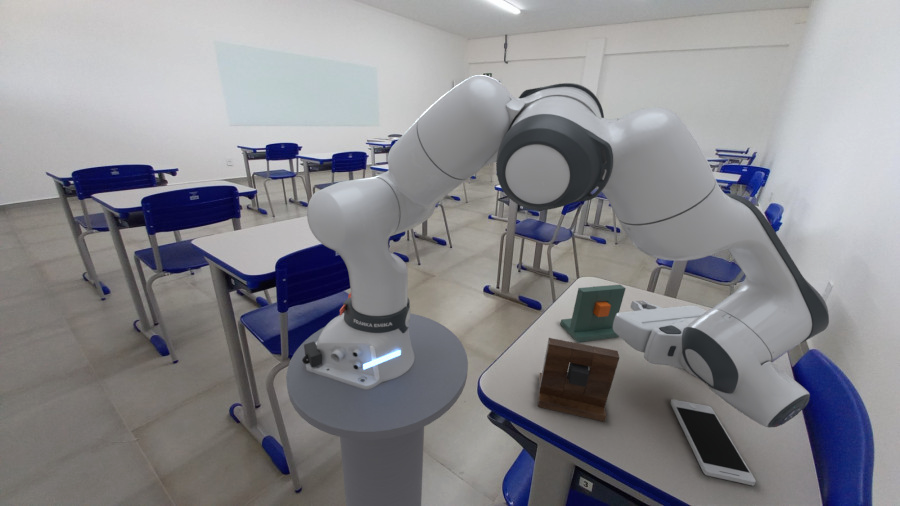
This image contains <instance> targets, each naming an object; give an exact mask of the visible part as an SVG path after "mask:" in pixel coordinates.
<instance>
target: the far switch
mask: <svg viewBox="0 0 900 506" xmlns="http://www.w3.org/2000/svg"><path fill="white" fill-rule="evenodd" d="M610 307H611V305H610V304H609V303H607V302H606V301H602V302H595V306H594V310H593V313H594V314H595V315H596V316H597V317H603V316H608V315H609V311H610Z"/></svg>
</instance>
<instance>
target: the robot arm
mask: <svg viewBox="0 0 900 506" xmlns="http://www.w3.org/2000/svg"><path fill="white" fill-rule="evenodd" d="M598 98H599V97H597V96H596V94H595V93H594V92H592V90H591V89H589V88H587V87H586V86H584V85H582V84H578V83H573V82H564V83H555V84H550V85H547V86H546V85H545V86H540V87H535V88H529V89H525V90H524V91H522V92H521V94H520V95H519V96H518V98H517V97H515V96H513V94H511V92H510V91H509V90H508V88H507V87H506V86H504V84H503V83H501V82H500V81H498V80H497V79H496V78H493V77H492V76H488V75H483V74H478V75H477V74H476V75H472V76H469V77H468V78H466V79H464V80H463V81H461V82H459V83H458V84H456V85H455V86H454V87H453V88H451V89H449V90H448V91H447V92H446V93H445V94H443V95H442V96H440V97H439V99H437V100H436V101H435V102H433V104H431V105H430V106H429V107H428V108H427V109H426V110H425V111H424V112H423V113H422V114H421V115H420V116H419V117H418V118H417V119H416V120H415V122H413V124H412V125H411V126H410V127H409V128H408V129H407V130H406V131H405V132H404V133H403V135H401V136H400V137H399V139H397V141H396V142H394V144H393V145H392V146H391V147H390V149H389V151H388V155H387V166H388V170H387V171H385V172H382V173H380V174H377V175H374V176H371V177H364V178H357V179H350V180H343V181H339V182H336V183H334V184H331V185H329V186H325V187H323V188H322V189H320V190H317V191H315V192H314V193H312V195H311V197H310V199H309V202H308V205H307V209H306V219H307V223H308V224H307V225H308V227H309V229H310V231H311V234H312V235H313V236H314V238H315V239H316V240H317V241H318V242H319V243H320V244H322V245H323V246H324V247H326V248H328V249H330V250H332V251H333V252H335V253H337V254H338V255H339V256H340V257H341V259H342V260H343V262H344V264H345V266H346V268H347V272H348V278H349V287H350V293H348V295H347V299H345V300H344V302H343V303H342V306H341V307H340V309H339V314H338V315H337V316H335V317H334V318H332V319H331V320H330V321H329V322H328V323H327V324H326V325H325V326H324V327H325V328H324V327H323V328H324V329H323V330H322V332H321V334H320V336H319V338H318V341H317V342H316V343H315V342H311V343H307V344H304V350H305V356H304V357H303V359H302V361H303V363H305V364H306V370H307V371H310V372H313V373H316V374H319V375H322V376H325V377H328V378H331V379H334V380H337V381H340V382H343V383H346V384H349V385H352V386H355V387H358V388H361V389H365V390H369V389H372V388H374V387H375V386H377V385H379V384H380V383H382V382H385V381H388V380H392V379H395V378H397V377H399V376H401V375H403V374H404V373H406V372H407V371H408V370H409V369H410V368H411V366H412V365H413V363H414V359H415V355H414V351H413V349H412V345H411V341H410V335H409V324H410V313H411V304H410V302H411V301H410V299H409V295H408V294H409V269H408V266H407V263H406V262H405V261H404V260H403V259H402V258H401V257H400V256H398V255H397V254H395V253H393V252H390V247H389V239H390V237H392V236H395V235H398V234H402V233H404V232H407V231H410V230H413V229H415V228H417V227H418V226H420V225H422V224H423V223H424V222H426V221H427V220H429V219H430V218H431V217H432V216H433V214H434V212H435V210H436V205H437V204H438V203H439V202H440V201H441V200H443V199H444V198H445V197H446V196H448V195H449V194H450V193H452V192H453V191H454V190H456V189H457V188H459V187H460V186H461V185H462V184H464V183H465V182H467V181H468V180H469V179H471V178H472V177H473V176H474V175H476V174H477V173H478V172H479V171H480V170H482V169H483V168H484V167H487V166H489V165H490V164H492V163H495V164H496V165H495V168H496V169H495V170H496V171H495V172H496V177H497V181H498V184H499V186H500V188H501V190H502V191H503V193H504V194H505V195H506V197H507V198H508V199H510V200H511V201H512V202H513V203H515V204H517V205H518V206H521V207H522V208H525V209H529V210H535V211H547V210H553V209H558V208H561V207H564V206H567V205H570V204H572V203H577V202H578V203H579V202H587V201H590V200H593V199H595V198H596V197H598V196H599V195H600V194H601V193H602V194H603V195H604V196H605V198H606V199H607V202H608V203H609V205H610V207H611V209H612V211H613V213H614V215H615V217H616V219H617V221H618V223H619V225H620V226H621V229H622V230H623V232H624V234H625V235H626V237H627V238H628V239H629V241H630V242H631V243H632V245H633V246H634V247H635V248H636V249H638V251H640V252H642V253H644V254H645V255H647V256H649V257H653V258H655V259H658V260H664V261H672V262H674V261H677V262H681V261H682V262H683V261H684V262H685V261H695V260H699V259H704V258H706V257H709V256H710V257H711V256H712V255H715V254H718V253H721V252H724V251H728V252H729V254H730V255H731V257H732V258H733V260H734V261H735V262H736V264H737V265H738V267H739V268H740V269H741V271H742V272H743V274H744V277H745V278H744V280H743V282H742V284H740V286H739V287H738V288H737V289H736V290H735V291H734V292H733V293H731V294H729V296H727V297H725V298H724V299H723V300H721V301H720V302H719V303H717V304H716V305H714V306H713V307H711V308H710V309H708V310H706V309H704V308H702V307H701V306H697V305H693V304H690V305H688V304H687V305H678V306H670V307H669V306H668V307H662V306H659V305H656V304H652V303H649V302H648V301H646V300H645V299H643V300H632V301H631V303H630V309H631V311H622V312H621V311H619V313H617V314H616V316H615V319H614V322H613V330H614V332H615V333H616V334H617V335H618V336H619V337H618V338H620V339H621V340H622V341H623V342H624V343H626V344H627V345H628V346H629V347H630V348H632V349H634V350H635V351H637V352H640V353H643V359H644V360H645V361H646V362H647V363H649V364H650V365H651V364H652V365H660V366H669V367H673V368H677V369H681V370H683V369H684V370H685V371H686V372H688V373H689V374H690V375H692V376H694V377H695V378H697V379H700V381H702V382H703V383H704V384H705V385H707V387H708V388H709V389H710V390H711V391H712V392H713V393H714V394H715V395H717V396H718V397H719V398H720V399H722V400H723V401H724V402H725V403H726V404H728V405H729V406H731V407H732V408H734V409H735V410H737V411H738V412H739V413H741V414H742V415H744V416H746V417H747V418H749V419H750V420H752V421H754V422H755V423H757V424H758V425H761V426H762V427H765V428H777V427H780V426H782V425H784V424H786V423H787V422H789V421H790V420H791V419H793V418H795V417H796V416H797V415H799V413H800V412H801V411H803V410H804V409H805V408H806V407H807V405H808V404H809V402H810V398H811V394H810V392H809V391H808V390H807V389H806V388H805V387H804V386H802V385H801V384H800V383H799V382H798V381H796V380H795V379H793V377H791V376H790V375H789V374H787V373H786V372H784V371H783V370H782V369H780V368H779V367H778V366H777V365H775V364H773V363H774V362H775V361H777V360H778V359H780V358H781V357H782V356H784V355H785V354H787V353H788V352H790V351H791V350H792V349H794V348H796V347H797V346H798V345H800V344H802V343H805V342H806V341H808V340H810V339H811V338H813V337H815V336H817V335H819V334H821V333H822V332H825V330H827V328H828V326H829V323H830V314H829V309H828V305H827V304H826V301H825V299H824V298H823V296H822V295H821V294H820V293H819V292H818V290H817V288H815V287H814V286H813V285H812V284H810V282H809V281H808V280H807V279H806V278H805V277H804V275H803V274H802V272H801V271H800V270H799V268H798V266H797V265H796V263H795V261H794V259H793V258H792V257H791V255H790V253H789V252H788V250H787V248H786V247H785V245H784V244H783V242H782V240H781V238H780V237H779V236H778V234H777V232H776V230H775V229H774V227H773V226H772V225H771V223H770V221H769V220H768V218H766V216H765V215H764V214H763V212H762V211H761V210H760V209H759V208H758V206H756V205H755V204H754V203H753V202H751V201H750V199H749V200H748V199H747V198H746V197H744V196H742V195H739V194H734V193H725V192H724V191H723V190H722V188H721V187H720V185H719V183H718V181H717V179H716V176H715V174H714V172H713V169H712V168H711V165H710V163H709V161H708V159H707V157H706V155H705V153H704V151H703V150H702V147H701V146H700V144H699V142H698V141H697V139H696V138H695V136H694V135H693V133H692V132H691V129H689V127H688V126H687V124H686V123H685V122H684V120H683V119H682V118H681V117H680V115H678V113H677V112H675V111H673V110H672V109H669V108H667V107H661V106H650V107H644V108H640V109H636V110H634V111H631V112H627V113H626V114H624V115H623V116H621V117H616V118H605V115H604V109H603V107H602V105H601V102H600V100H599V99H598ZM596 189H597V190H596ZM594 190H596V191H595V192H594ZM592 192H594V193H593V194H592Z"/></svg>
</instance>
